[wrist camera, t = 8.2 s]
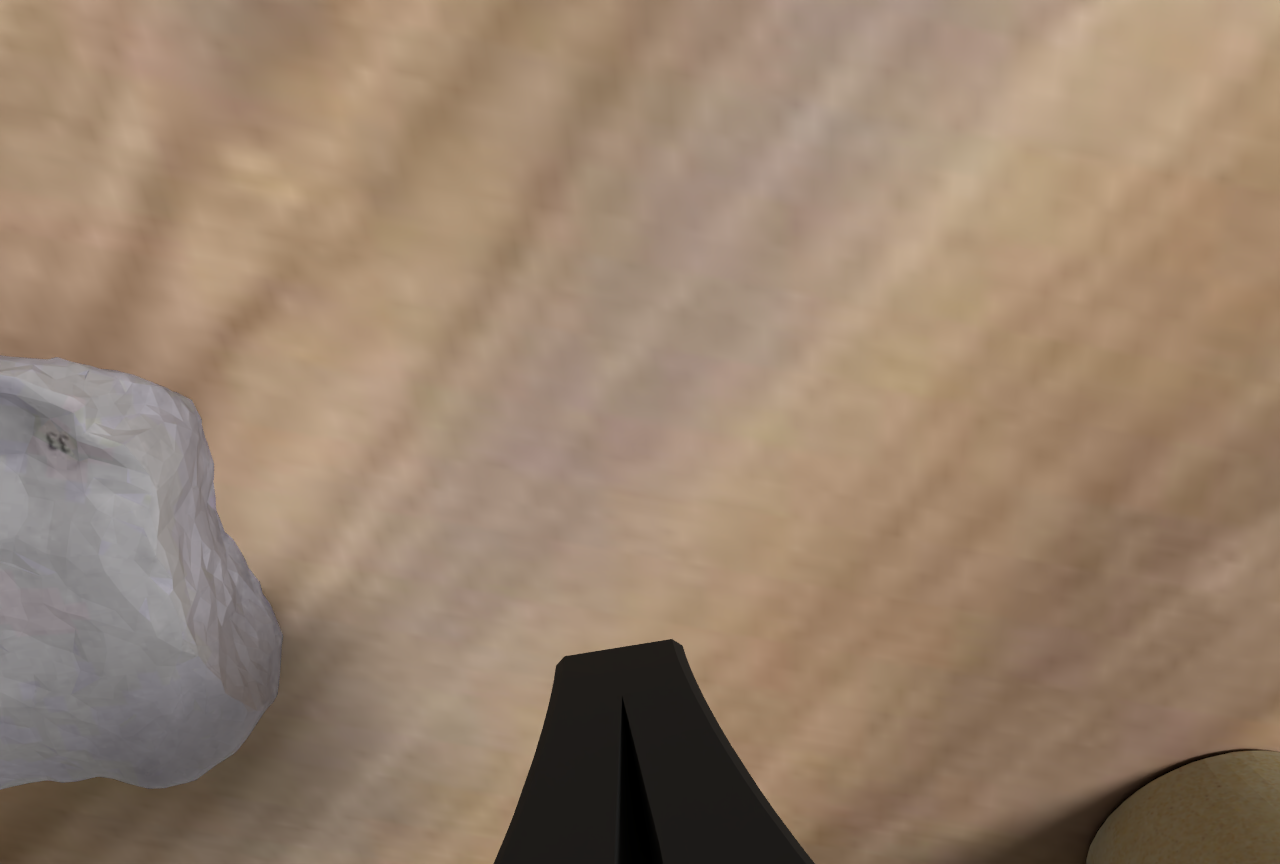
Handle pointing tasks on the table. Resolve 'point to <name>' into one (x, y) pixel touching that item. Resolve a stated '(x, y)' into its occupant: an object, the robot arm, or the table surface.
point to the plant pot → (1199, 815)
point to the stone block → (119, 586)
